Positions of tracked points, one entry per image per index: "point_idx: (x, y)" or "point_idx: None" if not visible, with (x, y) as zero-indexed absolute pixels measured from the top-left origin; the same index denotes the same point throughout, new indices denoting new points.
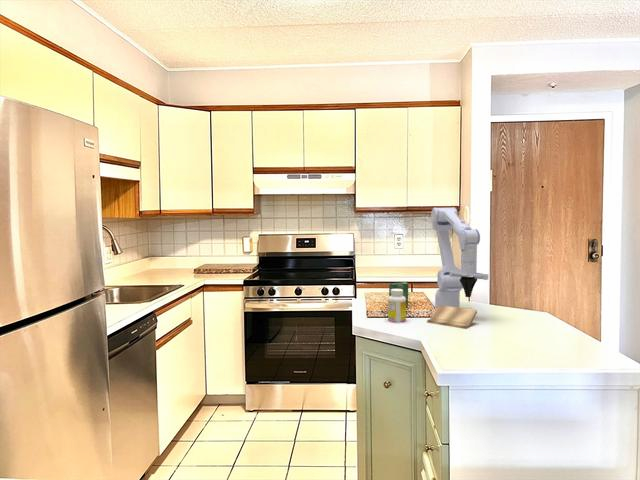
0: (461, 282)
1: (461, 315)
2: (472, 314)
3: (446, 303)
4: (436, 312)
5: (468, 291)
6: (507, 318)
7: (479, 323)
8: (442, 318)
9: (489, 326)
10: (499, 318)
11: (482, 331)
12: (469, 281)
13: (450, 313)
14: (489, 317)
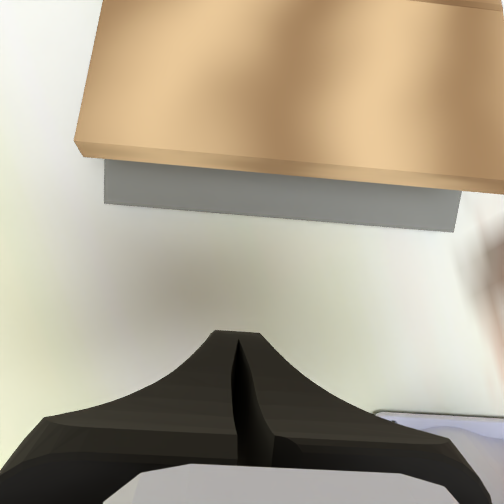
0: (385, 427)
1: (221, 54)
2: (108, 78)
3: (487, 471)
4: (488, 74)
5: (208, 354)
6: None
7: (134, 248)
8: (391, 9)
9: (37, 199)
10: None
11: (22, 6)
12: (119, 427)
13: (344, 73)
14: None
